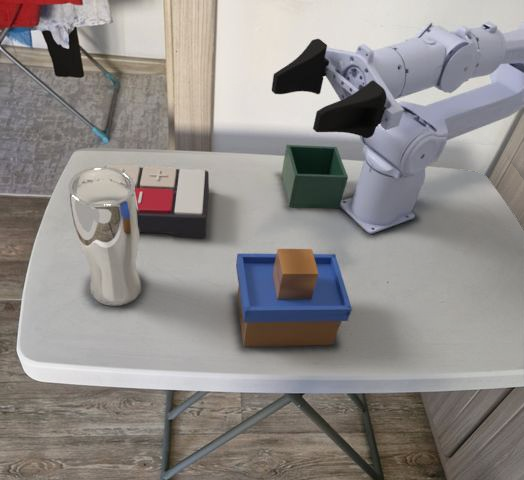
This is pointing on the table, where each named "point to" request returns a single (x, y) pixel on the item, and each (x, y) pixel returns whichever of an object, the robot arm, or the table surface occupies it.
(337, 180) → the green storage bin
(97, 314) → the table surface
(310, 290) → the block
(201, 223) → the calculator
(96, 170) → the beer glass
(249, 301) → the lidded box
